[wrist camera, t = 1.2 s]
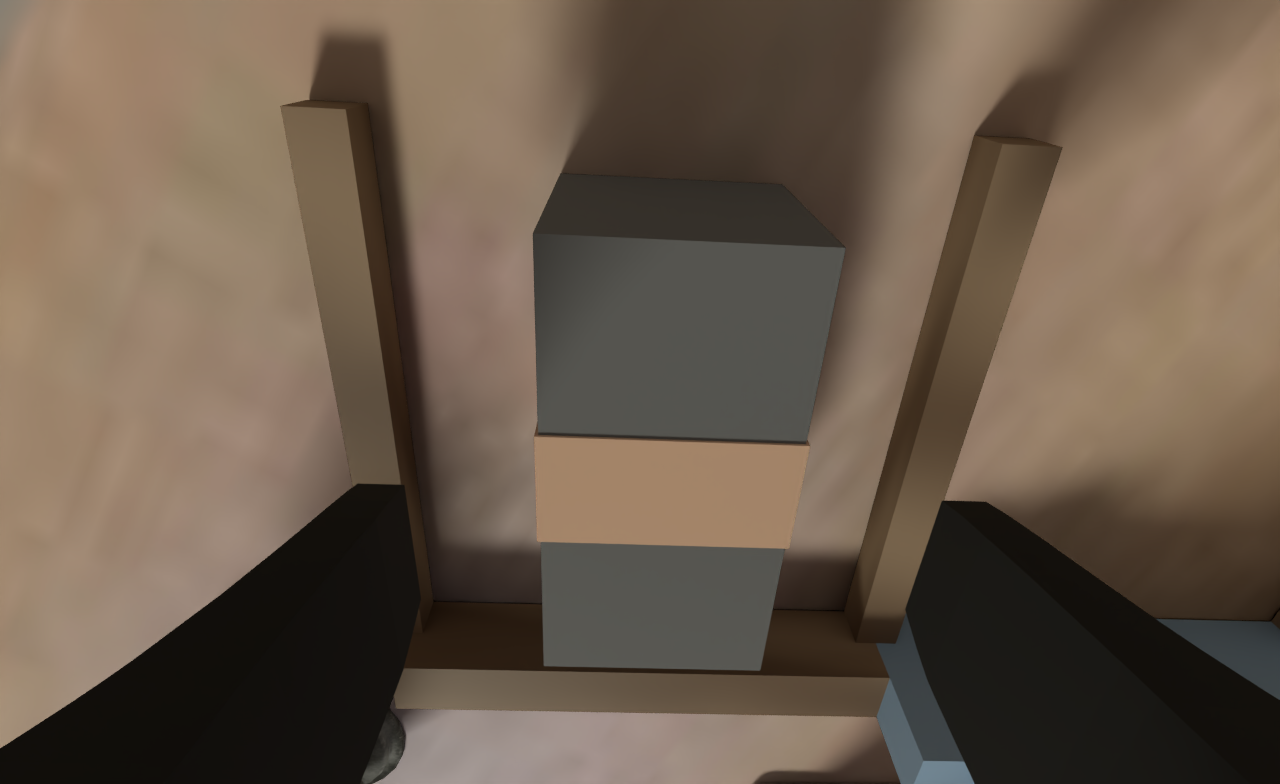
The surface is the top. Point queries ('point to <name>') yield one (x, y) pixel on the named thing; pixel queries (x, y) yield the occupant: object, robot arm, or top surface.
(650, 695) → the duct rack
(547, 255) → the grey and tan block
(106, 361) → the top surface
